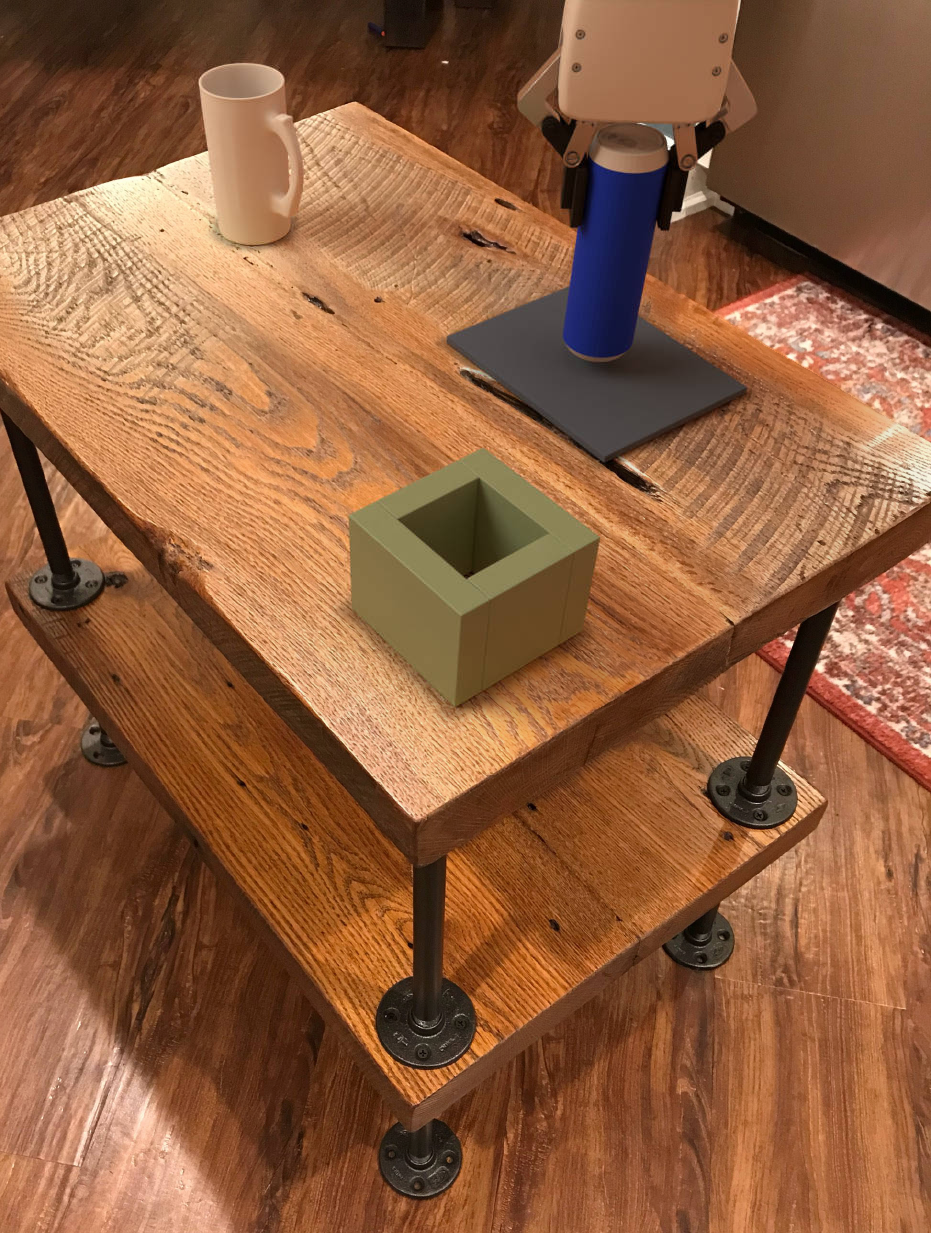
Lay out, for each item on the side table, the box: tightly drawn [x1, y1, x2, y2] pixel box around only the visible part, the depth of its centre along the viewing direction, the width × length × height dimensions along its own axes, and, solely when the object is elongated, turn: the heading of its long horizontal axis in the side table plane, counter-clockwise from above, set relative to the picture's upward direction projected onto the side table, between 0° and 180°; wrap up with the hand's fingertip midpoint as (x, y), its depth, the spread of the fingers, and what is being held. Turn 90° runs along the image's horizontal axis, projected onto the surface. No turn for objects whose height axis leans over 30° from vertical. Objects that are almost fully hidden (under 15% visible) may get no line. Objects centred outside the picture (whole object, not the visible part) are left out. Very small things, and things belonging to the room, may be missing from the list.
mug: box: [198, 62, 305, 246], centre depth 94 cm, size 10×7×12 cm, turn 44°
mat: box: [446, 286, 748, 464], centre depth 86 cm, size 18×14×1 cm
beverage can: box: [563, 122, 669, 362], centre depth 79 cm, size 5×5×15 cm
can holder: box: [348, 447, 601, 708], centre depth 67 cm, size 10×10×8 cm
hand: (618, 216), depth 77 cm, fingers closed on beverage can, 5 cm apart
